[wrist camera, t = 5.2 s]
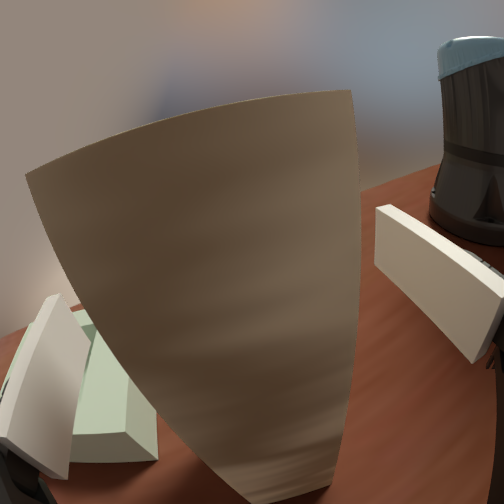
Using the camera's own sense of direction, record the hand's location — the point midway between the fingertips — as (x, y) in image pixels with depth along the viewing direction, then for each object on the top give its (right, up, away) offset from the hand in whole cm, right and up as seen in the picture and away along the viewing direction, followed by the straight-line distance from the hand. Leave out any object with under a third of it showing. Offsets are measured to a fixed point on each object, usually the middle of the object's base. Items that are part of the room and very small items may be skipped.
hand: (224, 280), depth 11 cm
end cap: (-12, -10, +7) cm, 17 cm away
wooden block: (+2, -10, +2) cm, 10 cm away
